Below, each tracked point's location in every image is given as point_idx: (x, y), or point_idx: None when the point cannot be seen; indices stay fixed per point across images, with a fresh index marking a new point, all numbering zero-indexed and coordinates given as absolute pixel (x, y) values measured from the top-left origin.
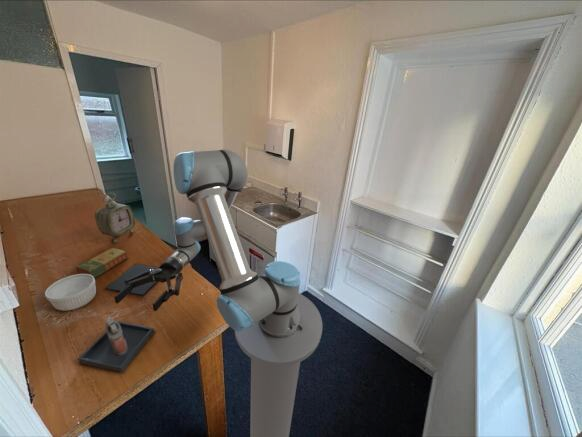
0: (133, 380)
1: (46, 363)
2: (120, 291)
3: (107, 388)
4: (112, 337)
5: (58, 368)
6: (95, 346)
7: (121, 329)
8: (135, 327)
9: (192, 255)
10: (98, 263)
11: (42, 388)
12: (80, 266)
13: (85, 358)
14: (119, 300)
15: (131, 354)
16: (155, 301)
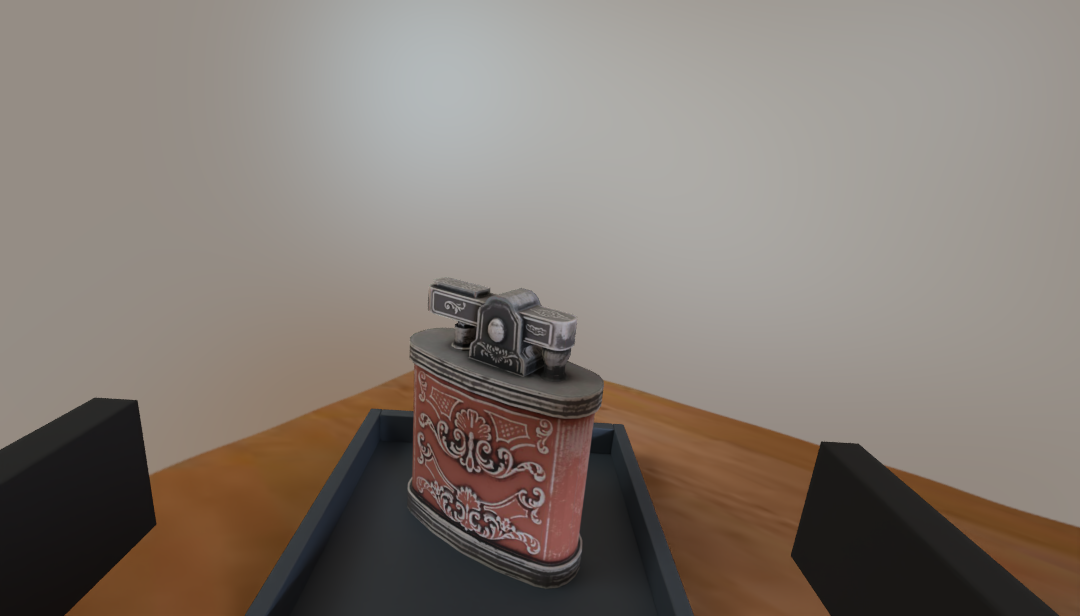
0: (296, 426)
1: (760, 449)
2: (968, 538)
3: (401, 406)
4: (453, 330)
5: (683, 440)
6: (627, 494)
7: (432, 353)
8: None
9: None
10: None
11: (644, 400)
12: None
13: None
14: (818, 559)
15: (347, 451)
16: (73, 438)
